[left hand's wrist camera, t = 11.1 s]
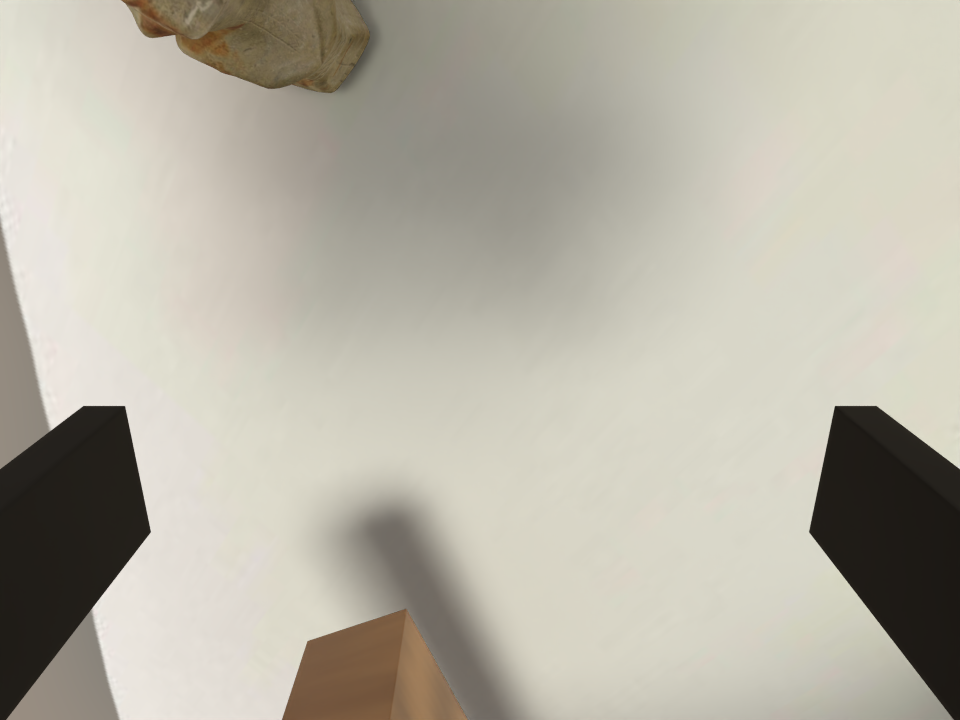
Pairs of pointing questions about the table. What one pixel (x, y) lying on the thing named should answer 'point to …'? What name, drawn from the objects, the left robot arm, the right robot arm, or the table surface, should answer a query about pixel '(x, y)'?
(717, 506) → the table surface
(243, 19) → the sculpture
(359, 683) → the bar
